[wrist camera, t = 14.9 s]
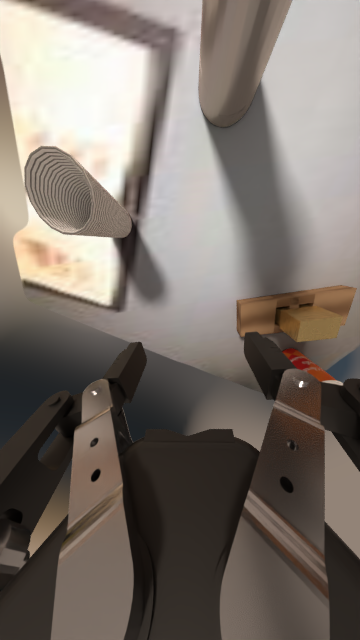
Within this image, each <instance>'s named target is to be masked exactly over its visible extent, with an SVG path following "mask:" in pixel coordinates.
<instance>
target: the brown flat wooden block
mask: <svg viewBox="0 0 360 640" xmlns="http://www.w3.org/2000/svg"><path fill="white" fill-rule="evenodd" d="M356 289H357V288H352V287H347V286H342V285H339V286H333V287H326V288H319V289H312V290H305V291H298V292H291V293H284V294H277V295H270V296H263V297H256V298H250V299H243V300H237V331H238V333H239V334H240V336H241V337H243V336H245V333H246V332H255V331H257V332H258V333H259V334H260V335H261V334H270V333H279V332H284V331H283V330H281V329H280V325H279V324H277V323H276V322H275V314H276V308H277V307H283V308H285V309H287V310H288V309H296V308H299V305H300V304H306V305H309V306H318V307H321V308H323V309H326V310H328V311H331V312H333V313H336V314H338V315H341V316H343V319H342V322H341V325H340V326H342V325H345V322H346V319H347V316H348V313H349V310H350V307H351V304H352V301H353V298H354V295H355V292H356Z"/></svg>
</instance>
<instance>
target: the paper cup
mask: <svg viewBox="0 0 360 640" xmlns="http://www.w3.org/2000/svg"><path fill="white" fill-rule="evenodd" d="M282 352H283V353H284V354H285V355H286V356H287V358H288V359H289V360H290V361H291V362H292V363H293V364H294V365H295V367H296V368H297V369H299V370H303V371H306V372H308V373H310V374H311V375H313V376H314V377H316V378H317V379H318V381H321V382H325V383H331V384H337V385H342V386H343V383H342V382H339V381H337V380H335V379H334V378H333V377H331V376H330V375H329V374H328V373H326V372H325V371H324V370H322V369H321V368H320V367H319V366H317V365H316V364H315V363H313V362H312V361H311V360H309V359H308V358H307V357H306V356H304V355H303V354H302V353H300V352H299V351H297V350H296V349H293V348H290V349H286V350H284V351H282Z"/></svg>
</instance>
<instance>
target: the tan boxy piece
mask: <svg viewBox="0 0 360 640" xmlns="http://www.w3.org/2000/svg"><path fill="white" fill-rule="evenodd" d="M342 319H343V316H341V315H338V314H336V313H333V312H331V311H328V310H326V309H323V308H321V307H318V306H309V305H306V304H300V305H299V308H296V309H288V310H287V309H285V308H283V307H277V308H276V314H275V322H276V323H277V324H279V325H280V329H281V330H283V331H284V332H285V333H286V334H288V335H289V336H290V337H291V338H292V339H294V340H295V341H296V342H302V341H312V340H321V339H331V338H336V337H337V334H338V331H339V328H340V325H341V322H342Z"/></svg>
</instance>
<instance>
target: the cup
mask: <svg viewBox="0 0 360 640" xmlns="http://www.w3.org/2000/svg"><path fill="white" fill-rule="evenodd" d="M25 187H26V190H27V193H28V196H29V200H30V202H31V204H32V205H33V207H34V209H35V210H36V212H37V214H38V215H39V217H40V218H41V219H42V220H43V221H44V222H45V223H46V224H47V225H49V226H50V227H51V228H52V229H54V230H56V231H58V232H60V233H62V234H67V235H83V236H98V237H113V238H124V237H126V236H128V234H129V233H130V231H131V228H132V221H131V218H130V215H129V213H128V212H127V211H126V210H125V209H124V208H123V207H122V206H121V205H120V204H119V203H118V202H117V201H116V200H115V199H114V198H113V197H112V196H111V195H110V194H109V193H108V192H107V191H106V190H105V189H104V188H103V187H102V186H101V185H100V184H99V183H98V182H97V181H96V180H95V179H94V178H93V177H92V176H91V175H90V174H89V172H88V171H87V170H86V169H85V168H84V167H83V166H82V165H81V164H80V163H79V162H78V161H77V160H76V159H75V158H74V157H73V156H72V155H70V154H69V153H67V152H65V151H63V150H61V149H60V148H58V147H56V146H40V147H39V148H38V149H36V150H35V151H33V152H32V153H30V155H29V158H28V160H27V163H26V165H25Z"/></svg>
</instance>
